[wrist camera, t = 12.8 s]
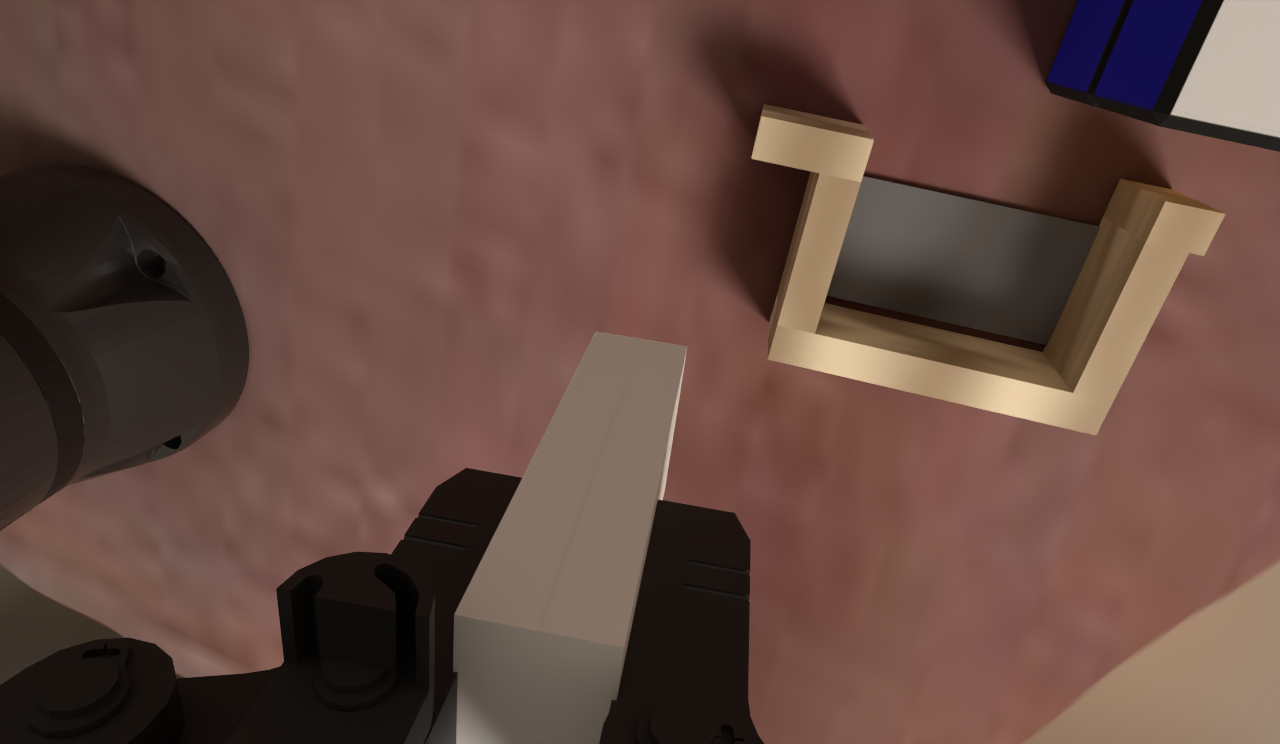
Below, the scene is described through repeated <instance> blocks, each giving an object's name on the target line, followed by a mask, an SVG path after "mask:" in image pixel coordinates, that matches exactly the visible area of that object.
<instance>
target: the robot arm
mask: <svg viewBox="0 0 1280 744" xmlns="http://www.w3.org/2000/svg"><path fill="white" fill-rule="evenodd" d="M686 352H687V346H682V345H676V344H670V343H664V342H658V341H652V340H645V339H639V338H633V337H627V336H621V335H615V334H609V333H603V332H597V331H596V332H595V334H594V336H593V338H592V340H591V342H590V344H589V346H588V348H587V350H586V352H585V354H584V356H583V358H582V360H581V362H580V364H579V366H578V368H577V370H576V372H575V374H574V376H573V378H572V380H571V382H570V384H569V386H568V388H567V390H566V392H565V394H564V396H563V398H562V400H561V402H560V404H559V406H558V408H557V410H556V412H555V414H554V416H553V418H552V420H551V422H550V424H549V426H548V428H547V430H546V432H545V434H544V436H543V438H542V440H541V442H540V444H539V446H538V448H537V450H536V452H535V454H534V456H533V458H532V460H531V462H530V464H529V466H528V468H527V470H526V472H525V474H524V476H523V478H520V477H514V476H509V475H503V474H497V473H492V472H486V471H481V470H475V469H469V468H465V469H464V470H462V471H461V472H459V473H458V474H456V475H454V476H453V477H451V478H450V479H448V480H447V481H445V482H443V483H442V484H440V485H439V486H437V487H436V488H435V490H434V491H433V493H432V494H431V496H430V497H429V499H428V500H427V502H426V503H425V505H424V506H423V508H422V509H421V511H420V512H419V516H418V518H415V520H414V521H413V523H412V524H411V526H410V527H409V529H408V530H407V532H406V533H405V537H404V540H401V541H400V542H399V544H398V545H397V547H396V548H395V550H394V551H393V553H392V554H391V555H390V554H387V553H372V552H353V553H347V554H342V555H337V556H331V557H326V558H324V559H322V560H319V561H317V562H315V563H313V564H311V565H308V566H306V567H304V568H302V569H300V570H298V571H296V572H295V573H294V574H293V575H292V576H291V577H289V578H288V579H287V580H286V581H285V582H284V583H282V584H281V585H280V586H279V587H278V588H277V589H276V590H277V600H278V609H279V618H280V627H281V636H282V645H283V655H284V662H283V664H282V665H281V666H280V667H277V668H274V669H271V670H265V671H258V672H252V673H246V674H233V675H219V676H206V677H192V678H179V679H176V674H175V670H174V665H173V660H172V658H171V657H170V656H169V655H168V654H166V653H165V652H164V651H163V650H162V649H161V648H159V647H158V646H157V645H156V644H153V643H149V642H145V641H141V640H136V639H132V638H117V639H102V640H101V639H100V640H93V641H90V642H86V643H83V644H80V645H76V646H73V647H69V648H66V649H63V650H59V651H58V652H56V653H54V654H52V655H50V656H48V657H46V658H44V659H42V660H41V661H39V662H37V663H35V664H33V665H31V666H29V667H27V668H25V669H24V670H22V671H21V672H20V673H18V674H16V675H15V676H14V677H12V678H11V679H9V680H8V681H6V682H4V683H3V684H1V685H0V744H764V743H763V741H762V740H761V739H760V737H759V736H758V734H757V731H756V729H755V726H754V724H753V722H752V719H751V717H750V710H749V703H748V666H749V603H750V602H749V596H750V576H749V574H750V539H749V538H748V536H747V534H746V532H745V530H744V529H743V527H742V525H741V523H740V522H739V520H738V518H737V516H736V515H735V513H731V512H726V511H720V510H714V509H709V508H703V507H698V506H692V505H686V504H681V503H675V502H670V501H664V500H663V496H664V491H665V485H666V479H667V472H668V466H669V460H670V453H671V447H672V441H673V434H674V428H675V422H676V415H677V409H678V403H679V396H680V390H681V384H682V377H683V371H684V365H685V358H686ZM248 363H249V345H248V336H247V329H246V325H245V320H244V316H243V313H242V310H241V307H240V304H239V301H238V299H237V296H236V294H235V291H234V289H233V287H232V285H231V283H230V281H229V279H228V277H227V275H226V273H225V272H224V270H223V268H222V267H221V265H220V263H219V262H218V260H217V259H216V258H215V256H214V255H213V253H212V252H211V250H210V249H209V248H208V247H207V245H206V244H205V243H204V242H203V240H202V239H201V238H200V237H199V236H198V234H197V233H196V232H195V231H194V230H193V229H192V228H191V227H190V226H189V225H188V224H187V223H186V222H185V221H184V220H183V219H182V218H181V217H180V216H179V215H177V214H176V213H175V212H174V211H173V210H171V209H170V208H169V207H168V206H166V205H165V204H164V203H162V202H161V201H160V200H158V199H157V198H155V197H154V196H152V195H151V194H149V193H148V192H146V191H144V190H143V189H141V188H139V187H138V186H136V185H134V184H132V183H130V182H128V181H126V180H123V179H121V178H119V177H116V176H114V175H111V174H108V173H105V172H102V171H98V170H94V169H90V168H85V167H78V166H65V165H58V166H47V167H40V168H36V169H31V170H27V171H22V172H17V173H13V174H8V175H4V176H0V531H1V530H3V529H4V528H5V527H7V526H8V525H10V524H11V523H13V522H14V521H16V520H17V519H18V518H20V517H21V516H23V515H24V514H26V513H27V512H28V511H30V510H31V509H33V508H34V507H35V506H37V505H38V504H40V503H41V502H43V501H44V500H46V499H47V498H49V497H50V496H52V495H53V494H55V493H56V492H58V491H60V490H61V489H63V488H64V487H66V486H68V485H71V484H74V483H78V482H81V481H85V480H88V479H92V478H95V477H99V476H102V475H106V474H109V473H113V472H116V471H120V470H124V469H127V468H131V467H134V466H138V465H142V464H145V463H148V462H152V461H156V460H159V459H162V458H165V457H168V456H171V455H173V454H175V453H177V452H179V451H181V450H183V449H185V448H187V447H189V446H190V445H191V444H193V443H194V442H196V441H197V440H198V439H200V438H201V437H202V436H204V435H205V434H207V433H208V432H209V431H211V430H212V429H213V428H215V427H216V426H217V425H219V424H220V423H221V422H222V421H223V420H224V419H225V418H226V417H227V416H228V415H229V414H230V412H231V411H232V410H233V408H234V407H235V405H236V403H237V402H238V400H239V398H240V396H241V394H242V391H243V388H244V385H245V381H246V377H247V372H248Z"/></svg>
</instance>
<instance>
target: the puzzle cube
mask: <svg viewBox="0 0 1280 744" xmlns="http://www.w3.org/2000/svg"><path fill="white" fill-rule="evenodd" d="M1046 84H1047V86H1048V88H1049V90H1050V92H1051V93H1052V94H1056V95H1059V96H1062V97H1065V98H1068V99H1071V100H1075V101H1078V102H1081V103H1084V104H1087V105H1091V106H1095V107H1099V108H1103V109H1106V110H1109V111H1112V112H1115V113H1119V114H1122V115H1125V116H1128V117H1131V118H1135V119H1138V120H1141V121H1144V122H1148V123H1151V124H1154V125H1157V126H1161V127H1166V128H1171V129H1175V130H1180V131H1185V132H1190V133H1194V134H1199V135H1204V136H1209V137H1213V138H1218V139H1223V140H1227V141H1232V142H1237V143H1242V144H1246V145H1251V146H1256V147H1261V148H1265V149H1270V150H1275V151H1279V152H1280V0H1078V1H1077V4H1076V6H1075V9H1074V11H1073V14H1072V17H1071V19H1070V22H1069V24H1068V27H1067V29H1066V32H1065V34H1064V37H1063V40H1062V42H1061V45H1060V47H1059V50H1058V52H1057V55H1056V57H1055V60H1054V63H1053V65H1052V68H1051V70H1050V73H1049V75H1048V78H1047V80H1046Z"/></svg>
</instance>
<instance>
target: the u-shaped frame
mask: <svg viewBox="0 0 1280 744" xmlns="http://www.w3.org/2000/svg"><path fill="white" fill-rule="evenodd" d="M873 142H874V139H873V138H872V136H871V135H870V133H869V132H868V131H867V129H866V128H865V126H864V125H863V124H858V123H853V122H848V121H844V120H839V119H834V118H829V117H824V116H820V115H815V114H810V113H805V112H801V111H796V110H791V109H786V108H782V107H777V106H772V105H767V104H764V105H763V109H762V113H761V117H760V121H759V126H758V130H757V134H756V138H755V142H754V147H753V153H752V158H751V159H755V160H760V161H764V162H769V163H774V164H778V165H783V166H788V167H792V168H797V169H802V170H806V171H811V172H810V176H809V180H808V183H807V187H806V191H805V194H804V198H803V202H802V205H801V209H800V212H799V216H798V220H797V223H796V227H795V231H794V234H793V238H792V242H791V245H790V249H789V253H788V256H787V260H786V264H785V267H784V271H783V274H782V278H781V282H780V285H779V289H778V293H777V296H776V300H775V304H774V307H773V311H772V315H771V318H770V322H769V339H768V359H769V360H773V361H778V362H782V363H786V364H790V365H795V366H799V367H803V368H808V369H812V370H816V371H821V372H825V373H829V374H834V375H838V376H842V377H846V378H851V379H855V380H859V381H864V382H868V383H872V384H877V385H881V386H885V387H890V388H894V389H898V390H902V391H907V392H911V393H915V394H920V395H924V396H928V397H933V398H937V399H941V400H946V401H950V402H954V403H958V404H963V405H967V406H971V407H976V408H980V409H984V410H989V411H993V412H997V413H1002V414H1006V415H1010V416H1014V417H1019V418H1023V419H1027V420H1032V421H1036V422H1040V423H1045V424H1049V425H1053V426H1058V427H1062V428H1066V429H1071V430H1075V431H1079V432H1083V433H1088V434H1092V435H1096V434H1097V432H1098V430H1099V428H1100V427H1101V425H1102V423H1103V421H1104V419H1105V417H1106V415H1107V413H1108V411H1109V409H1110V407H1111V405H1112V403H1113V401H1114V399H1115V397H1116V395H1117V393H1118V391H1119V389H1120V387H1121V385H1122V383H1123V381H1124V379H1125V378H1126V376H1127V374H1128V372H1129V370H1130V368H1131V366H1132V364H1133V362H1134V360H1135V358H1136V356H1137V354H1138V352H1139V350H1140V348H1141V346H1142V344H1143V342H1144V340H1145V338H1146V336H1147V334H1148V332H1149V330H1150V329H1151V327H1152V325H1153V323H1154V321H1155V319H1156V317H1157V315H1158V313H1159V311H1160V309H1161V307H1162V305H1163V303H1164V301H1165V299H1166V297H1167V295H1168V293H1169V291H1170V289H1171V287H1172V285H1173V283H1174V281H1175V280H1176V278H1177V276H1178V274H1179V272H1180V270H1181V268H1182V266H1183V264H1184V262H1185V260H1186V258H1187V256H1188V254H1189V253H1193V254H1197V255H1202V256H1204V255H1205V253H1206V251H1207V249H1208V247H1209V245H1210V243H1211V241H1212V239H1213V237H1214V235H1215V233H1216V232H1217V230H1218V228H1219V226H1220V224H1221V222H1222V220H1223V218H1224V216H1225V213H1223V212H1220V211H1218V210H1216V209H1214V208H1212V207H1210V206H1207V205H1205V204H1203V203H1201V202H1199V201H1197V200H1194V199H1192V198H1190V197H1188V196H1186V195H1184V194H1181V193H1179V192H1177V191H1175V190H1173V189H1168V188H1163V187H1158V186H1154V185H1149V184H1144V183H1139V182H1134V181H1130V180H1125V179H1120V180H1119V182H1118V184H1117V187H1116V189H1115V191H1114V193H1113V195H1112V198H1111V200H1110V202H1109V204H1108V207H1107V209H1106V211H1105V213H1104V215H1103V218H1102V220H1101V222H1100V224H1099V226H1097V225H1092V224H1088V223H1083V222H1078V221H1073V220H1069V219H1064V218H1059V217H1055V216H1050V215H1045V214H1041V213H1036V212H1031V211H1027V210H1022V209H1017V208H1013V207H1008V206H1003V205H999V204H994V203H989V202H985V201H980V200H975V199H971V198H966V197H961V196H957V195H952V194H947V193H943V192H938V191H933V190H929V189H924V188H919V187H915V186H910V185H905V184H901V183H896V182H891V181H887V180H882V179H877V178H873V177H868V176H863V175H864V171H865V168H866V165H867V161H868V158H869V155H870V152H871V148H872V145H873ZM826 296H830V297H835V298H839V299H844V300H848V301H852V302H857V303H861V304H866V305H870V306H875V307H879V308H883V309H888V310H892V311H897V312H901V313H906V314H910V315H915V316H919V317H923V318H928V319H932V320H937V321H941V322H946V323H950V324H954V325H959V326H963V327H968V328H972V329H977V330H981V331H986V332H990V333H994V334H999V335H1003V336H1008V337H1012V338H1017V339H1021V340H1025V341H1030V342H1034V343H1039V344H1043V345H1045V347H1044V349H1043V351H1042V352H1040V351H1035V350H1031V349H1027V348H1022V347H1018V346H1013V345H1009V344H1004V343H1000V342H996V341H991V340H987V339H982V338H978V337H973V336H969V335H965V334H960V333H956V332H951V331H947V330H942V329H938V328H934V327H929V326H925V325H920V324H916V323H912V322H907V321H903V320H898V319H894V318H889V317H885V316H881V315H876V314H872V313H867V312H863V311H858V310H854V309H850V308H845V307H841V306H836V305H832V304H827V303H825V299H826Z"/></svg>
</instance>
